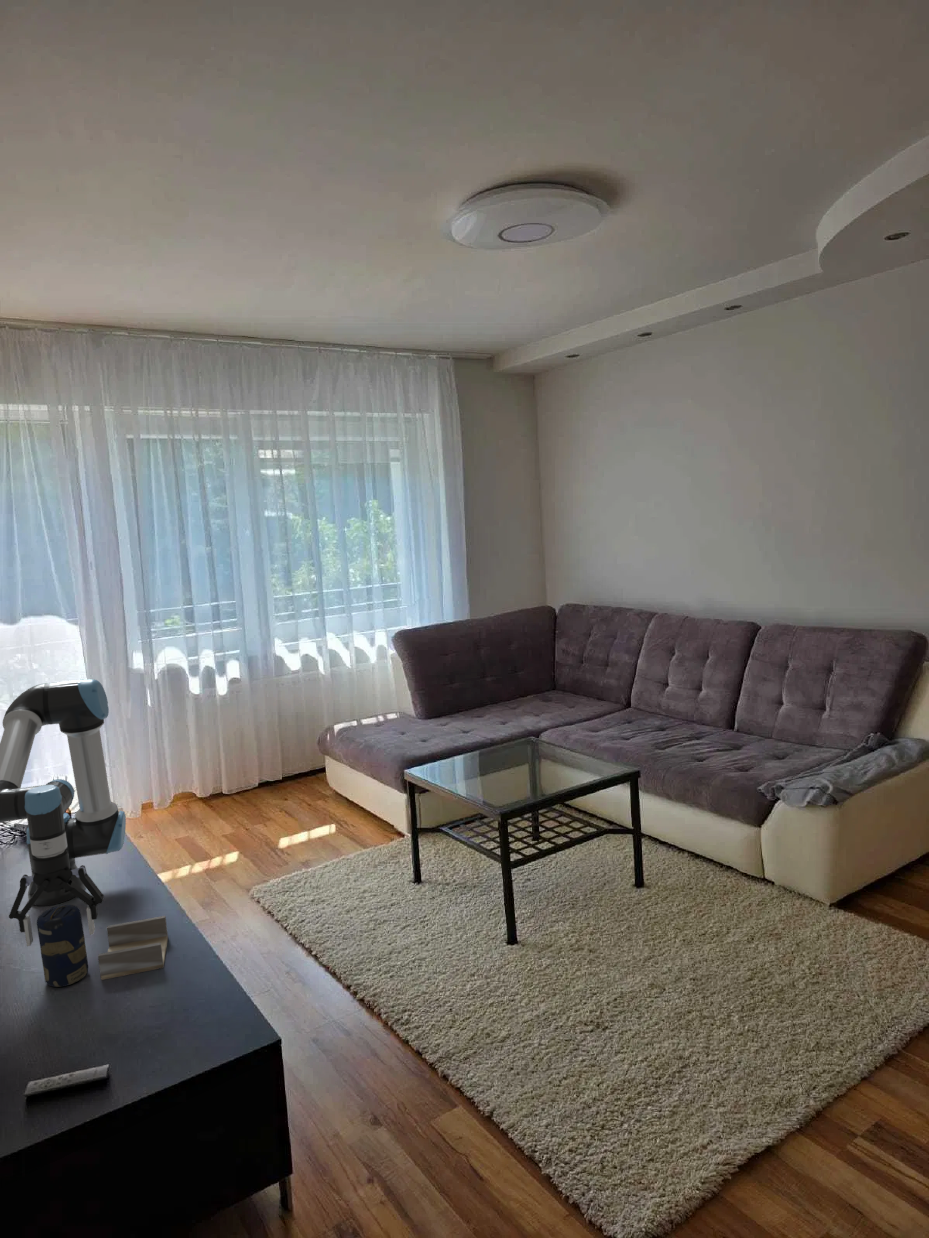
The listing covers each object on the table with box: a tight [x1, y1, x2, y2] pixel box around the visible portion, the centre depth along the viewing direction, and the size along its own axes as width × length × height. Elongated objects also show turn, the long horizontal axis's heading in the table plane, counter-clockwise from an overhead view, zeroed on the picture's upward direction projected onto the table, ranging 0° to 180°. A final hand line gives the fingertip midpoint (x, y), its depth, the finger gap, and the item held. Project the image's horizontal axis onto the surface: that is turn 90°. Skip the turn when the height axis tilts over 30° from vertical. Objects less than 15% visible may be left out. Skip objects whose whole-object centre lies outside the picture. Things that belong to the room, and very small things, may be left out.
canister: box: [36, 904, 89, 988], centre depth 196 cm, size 10×10×18 cm
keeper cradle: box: [97, 915, 169, 981], centre depth 205 cm, size 15×14×6 cm
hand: (61, 937), depth 196 cm, fingers open, 13 cm apart
